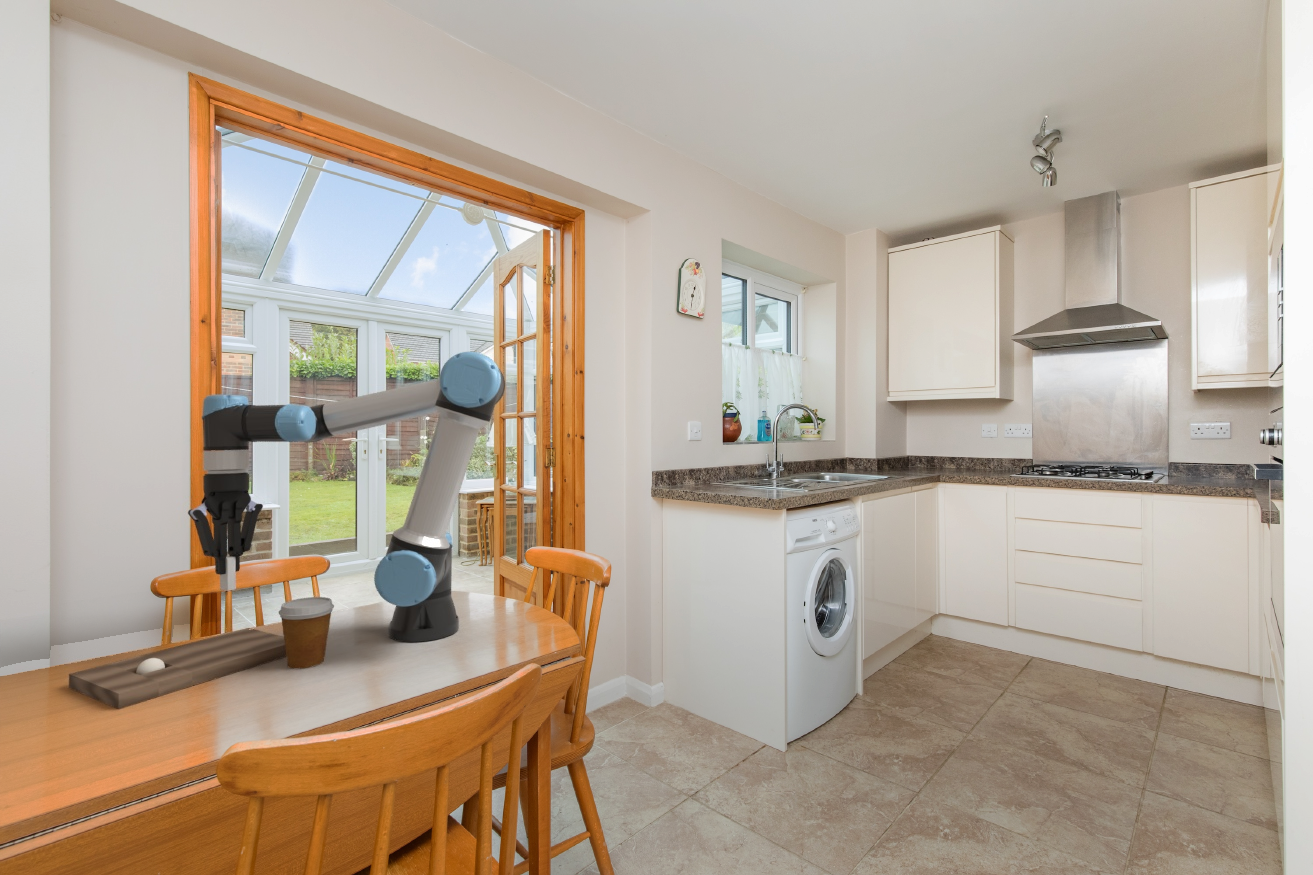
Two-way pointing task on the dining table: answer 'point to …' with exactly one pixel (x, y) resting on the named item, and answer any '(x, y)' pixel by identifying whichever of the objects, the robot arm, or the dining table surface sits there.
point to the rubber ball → (150, 666)
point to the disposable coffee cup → (306, 630)
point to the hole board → (178, 667)
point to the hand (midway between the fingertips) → (227, 589)
